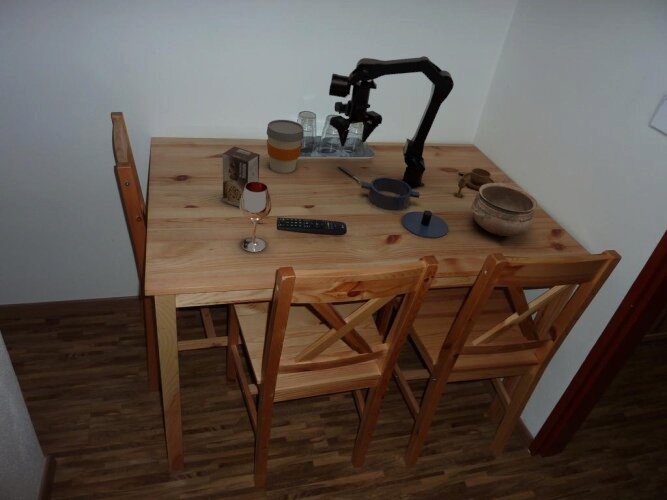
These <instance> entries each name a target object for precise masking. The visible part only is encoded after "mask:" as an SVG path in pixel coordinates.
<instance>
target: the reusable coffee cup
mask: <svg viewBox="0 0 667 500" xmlns="http://www.w3.org/2000/svg"><path fill="white" fill-rule="evenodd" d="M304 129H305V128H304V126H303V125H302V124H301V123H299V122H296V121H294V120H289V119H274V120H271V121H269V122H268V123H267V128H266V135H267V139H266V148H267V155H268V158H269V160H268V161H269V168H270V169H271V170H272V171H273V172H276V173H281V174H288V173H292V172H294V171H295V170H296V167H297V162H298V159H299V158H300V156H301V152H302V151H301V150H302V146H303V139H304V137H305V136H304V135H305V134H304V133H305V130H304Z"/></svg>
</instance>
